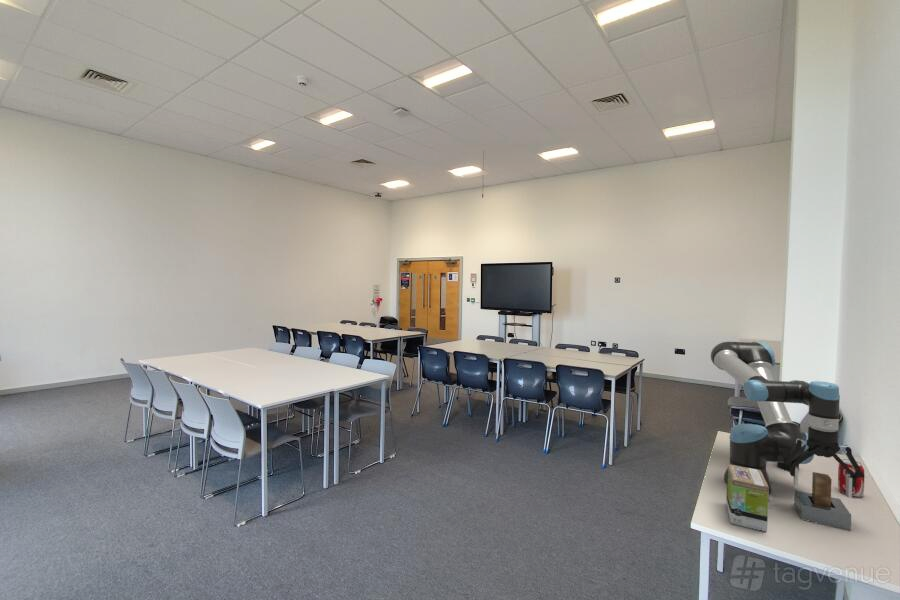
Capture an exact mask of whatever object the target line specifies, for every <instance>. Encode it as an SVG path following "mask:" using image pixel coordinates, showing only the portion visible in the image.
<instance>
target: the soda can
mask: <svg viewBox="0 0 900 600" xmlns="http://www.w3.org/2000/svg"><path fill="white" fill-rule="evenodd" d="M841 460H842V461H843V462H844V463H845V464H846V465H847V466H848V467H849V468H850V469H851V470H852V471H853V472H856V471H855V469H854V467H853V465H852V464H851V462H850V460H849V459H848V458H846V459H845V458H841ZM856 462H857V464H858V466H859V467H860V469H861V471H862V472H863V474H864V475H865V469H864V467H863V464H862V462H859V461H856ZM837 473H838V474H837V487H838V490H839V491H840V492H841V493H842V494H844V495H846V475H850V474H849V473H848V472H847V471H846V470H845V469H844V468H843V467H842V466H841V465H840V464H839V463H838V471H837ZM864 492H865V477H864V478H861V477H859V478H858V479H856V488H854V487H852V497H853V496H854V497H853V498H859V496H860V497H862V496H864Z"/></svg>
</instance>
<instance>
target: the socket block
mask: <svg viewBox="0 0 900 600" xmlns="http://www.w3.org/2000/svg"><path fill="white" fill-rule="evenodd" d="M793 496H794V498H793V499H794V507H795V508H796V510H797V512H799V513H798V515H799V514H800V515H799V517H800V516H801V517H800V519H801V518H802V519H805V520H804V521H806V520H809V521H808V522H810V521H813V522H812V523H814V522H817V523H816V524H819V523H821V525H823V524H825V526H828V525H829V527H832V526H833V528H838V529H842V530H846V531H852V514H851V513H850V511H849V510H848V509H847V507H846V506H845V504H844V503H843V502H842V500H841V498H838V497H837V498H836V497H833V496H831V507H827V506H822V505H818V504H813V503H812V492H806V491H801V490H797V489H795V490H794V495H793ZM802 519H801V520H802Z"/></svg>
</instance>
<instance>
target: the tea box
mask: <svg viewBox="0 0 900 600" xmlns="http://www.w3.org/2000/svg"><path fill="white" fill-rule="evenodd" d="M727 467H728V468H726V469H727V484H726V498H725V499H726V502H725V503H726V504H725V505H726V508H727V512H728V517H729V521H730V524H732V525H733V524H734V525H735V526H740V527H745V528H748V529H752V528H753V530H756V529H757V531H760V530H762V532H765V531H766V532H767V531H768V522H769V521H768V516H769V495H770V494H769V487H768V484H767V482H766V480H765V478H764V476H763V474H762V472H761V470H757V469H752V468H746V467H741V466H736V465H730V464H729V463H728V464H727Z"/></svg>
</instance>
